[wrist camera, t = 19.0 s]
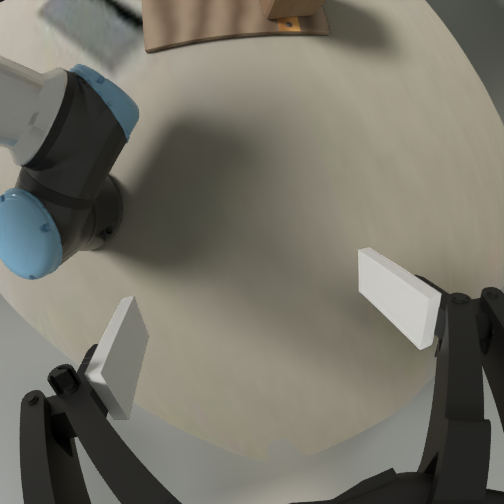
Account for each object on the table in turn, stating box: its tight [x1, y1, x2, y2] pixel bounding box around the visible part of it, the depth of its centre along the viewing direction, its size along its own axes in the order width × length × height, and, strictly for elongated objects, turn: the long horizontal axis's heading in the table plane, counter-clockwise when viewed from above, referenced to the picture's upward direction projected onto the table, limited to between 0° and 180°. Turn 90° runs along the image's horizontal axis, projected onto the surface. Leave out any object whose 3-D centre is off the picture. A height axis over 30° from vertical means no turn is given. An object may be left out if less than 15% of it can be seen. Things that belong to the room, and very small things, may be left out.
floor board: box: [142, 0, 330, 53], centre depth 38 cm, size 34×16×2 cm, turn 99°
